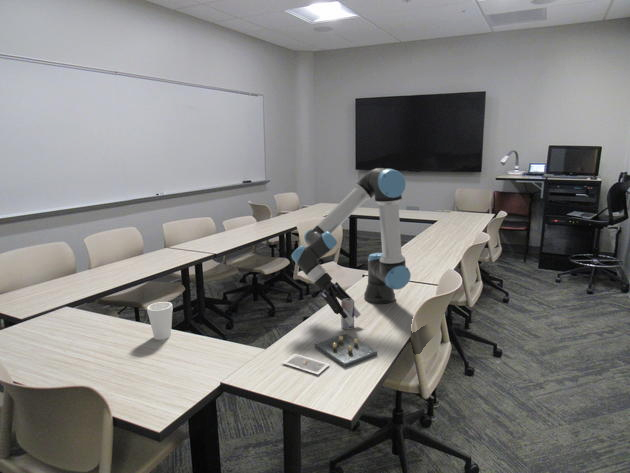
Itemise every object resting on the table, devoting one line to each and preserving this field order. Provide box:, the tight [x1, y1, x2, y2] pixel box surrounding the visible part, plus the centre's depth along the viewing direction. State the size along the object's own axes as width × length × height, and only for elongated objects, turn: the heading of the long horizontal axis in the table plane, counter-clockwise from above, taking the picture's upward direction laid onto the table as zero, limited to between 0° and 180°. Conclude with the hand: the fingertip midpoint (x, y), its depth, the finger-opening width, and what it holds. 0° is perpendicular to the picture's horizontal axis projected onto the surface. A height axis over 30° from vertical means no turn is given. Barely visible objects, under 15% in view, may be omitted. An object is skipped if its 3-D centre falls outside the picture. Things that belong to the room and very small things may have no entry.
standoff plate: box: [314, 333, 378, 368], centre depth 154 cm, size 15×18×4 cm
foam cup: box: [146, 301, 174, 341], centre depth 167 cm, size 10×9×13 cm
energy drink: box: [340, 297, 355, 330], centre depth 173 cm, size 5×5×12 cm
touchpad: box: [281, 353, 330, 375], centre depth 144 cm, size 8×15×2 cm, turn 58°
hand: (355, 319), depth 172 cm, fingers open, 7 cm apart
